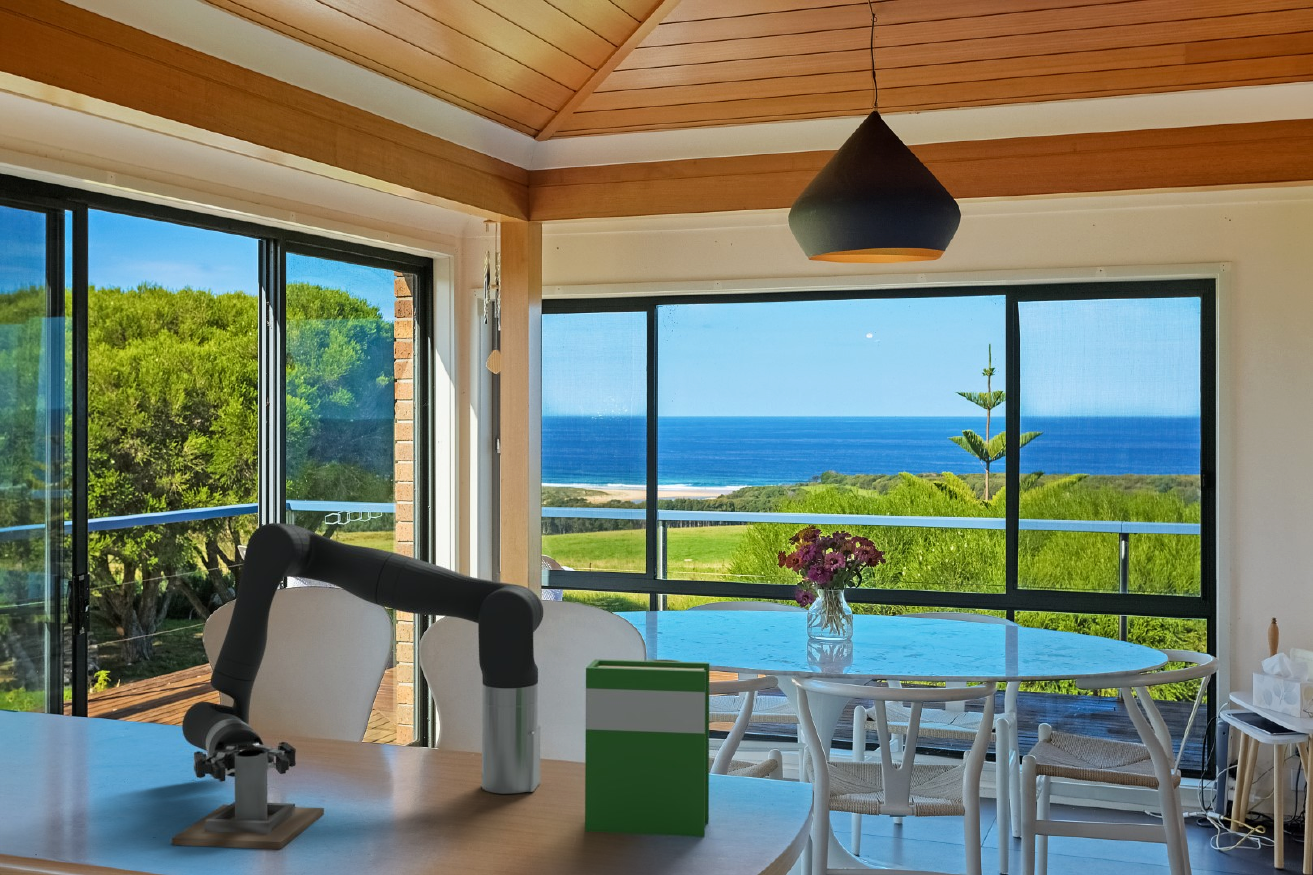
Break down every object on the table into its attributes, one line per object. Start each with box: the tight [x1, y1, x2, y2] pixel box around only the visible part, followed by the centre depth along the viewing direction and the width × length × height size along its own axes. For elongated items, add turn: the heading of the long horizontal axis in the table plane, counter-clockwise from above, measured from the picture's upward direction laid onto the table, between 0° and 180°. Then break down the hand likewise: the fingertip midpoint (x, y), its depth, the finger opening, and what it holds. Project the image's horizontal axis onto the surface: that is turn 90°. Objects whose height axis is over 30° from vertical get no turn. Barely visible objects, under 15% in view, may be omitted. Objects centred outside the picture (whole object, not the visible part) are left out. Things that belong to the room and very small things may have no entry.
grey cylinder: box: [234, 748, 268, 821], centre depth 175 cm, size 4×4×10 cm
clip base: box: [171, 801, 325, 850], centre depth 175 cm, size 16×16×2 cm
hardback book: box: [584, 659, 710, 838], centre depth 177 cm, size 18×7×24 cm, turn 83°
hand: (253, 770), depth 173 cm, fingers open, 8 cm apart
